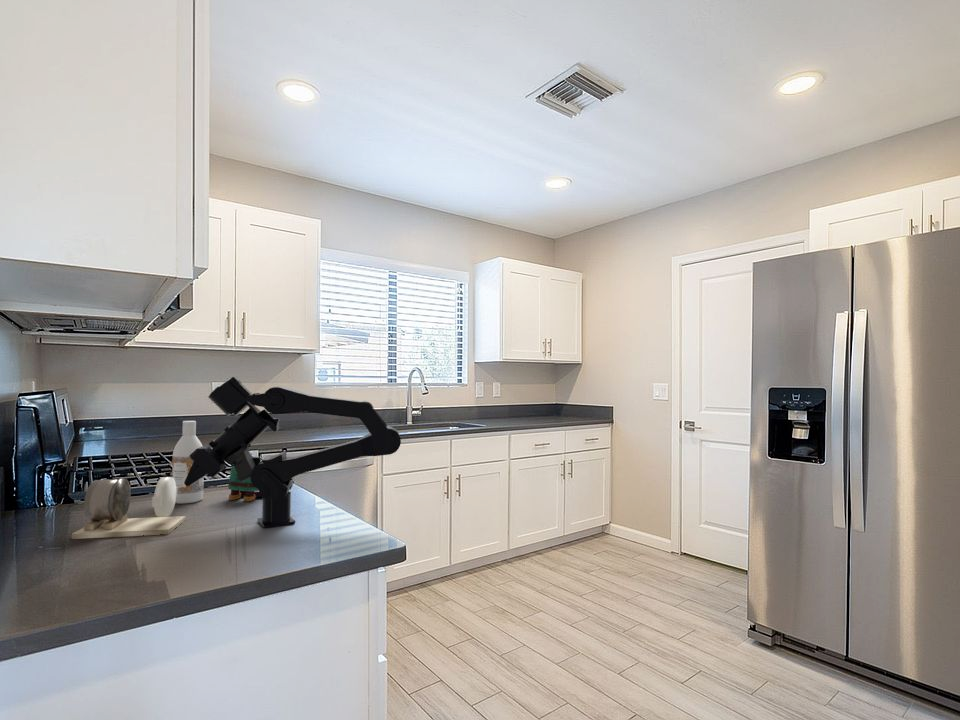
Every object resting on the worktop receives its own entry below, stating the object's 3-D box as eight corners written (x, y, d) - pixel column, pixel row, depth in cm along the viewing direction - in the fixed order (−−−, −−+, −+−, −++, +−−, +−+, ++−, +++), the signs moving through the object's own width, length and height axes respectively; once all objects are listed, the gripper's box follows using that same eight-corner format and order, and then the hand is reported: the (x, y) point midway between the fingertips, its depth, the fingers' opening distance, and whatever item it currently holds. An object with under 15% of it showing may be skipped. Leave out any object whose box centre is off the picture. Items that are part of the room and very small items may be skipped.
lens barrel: (130, 514, 113) (131, 474, 113) (111, 525, 105) (112, 482, 105) (103, 515, 112) (104, 475, 112) (82, 527, 104) (84, 483, 104)
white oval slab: (177, 510, 115) (178, 473, 116) (160, 522, 106) (161, 481, 106) (168, 510, 115) (169, 473, 115) (151, 522, 106) (152, 482, 106)
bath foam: (164, 503, 131) (166, 422, 131) (184, 497, 138) (186, 419, 138) (190, 504, 130) (192, 422, 130) (209, 498, 137) (210, 420, 137)
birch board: (185, 520, 116) (185, 510, 116) (168, 534, 106) (168, 523, 106) (97, 524, 112) (97, 514, 112) (71, 539, 102) (71, 527, 102)
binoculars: (279, 457, 142) (253, 459, 133) (275, 498, 141) (249, 502, 132) (251, 455, 145) (224, 457, 136) (248, 495, 144) (220, 499, 134)
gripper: (263, 465, 106) (201, 523, 103) (278, 451, 124) (226, 500, 122) (221, 425, 105) (157, 483, 102) (243, 417, 123) (189, 466, 120)
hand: (186, 484), depth 112 cm, fingers closed
